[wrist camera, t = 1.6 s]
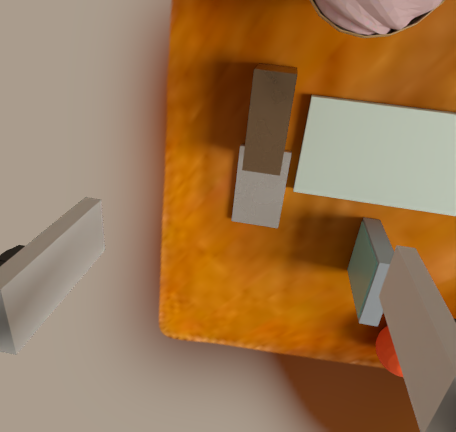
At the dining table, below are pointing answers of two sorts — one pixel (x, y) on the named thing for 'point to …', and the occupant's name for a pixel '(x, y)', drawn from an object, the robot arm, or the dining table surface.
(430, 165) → the board
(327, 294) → the dining table surface
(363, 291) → the tile
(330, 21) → the ice cream cone
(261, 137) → the brown grey long block
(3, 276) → the robot arm
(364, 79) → the dining table surface
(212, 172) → the dining table surface
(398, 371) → the clementine
